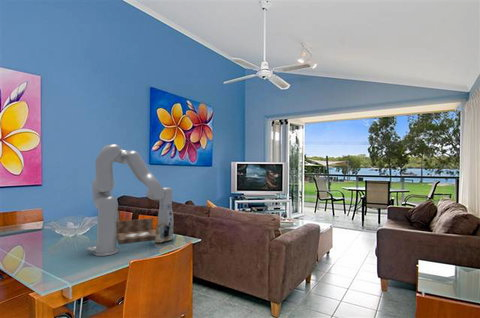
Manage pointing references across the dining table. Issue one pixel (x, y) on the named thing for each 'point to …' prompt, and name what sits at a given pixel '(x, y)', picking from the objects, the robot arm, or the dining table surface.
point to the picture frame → (160, 233)
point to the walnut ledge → (135, 231)
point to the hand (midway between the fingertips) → (164, 235)
